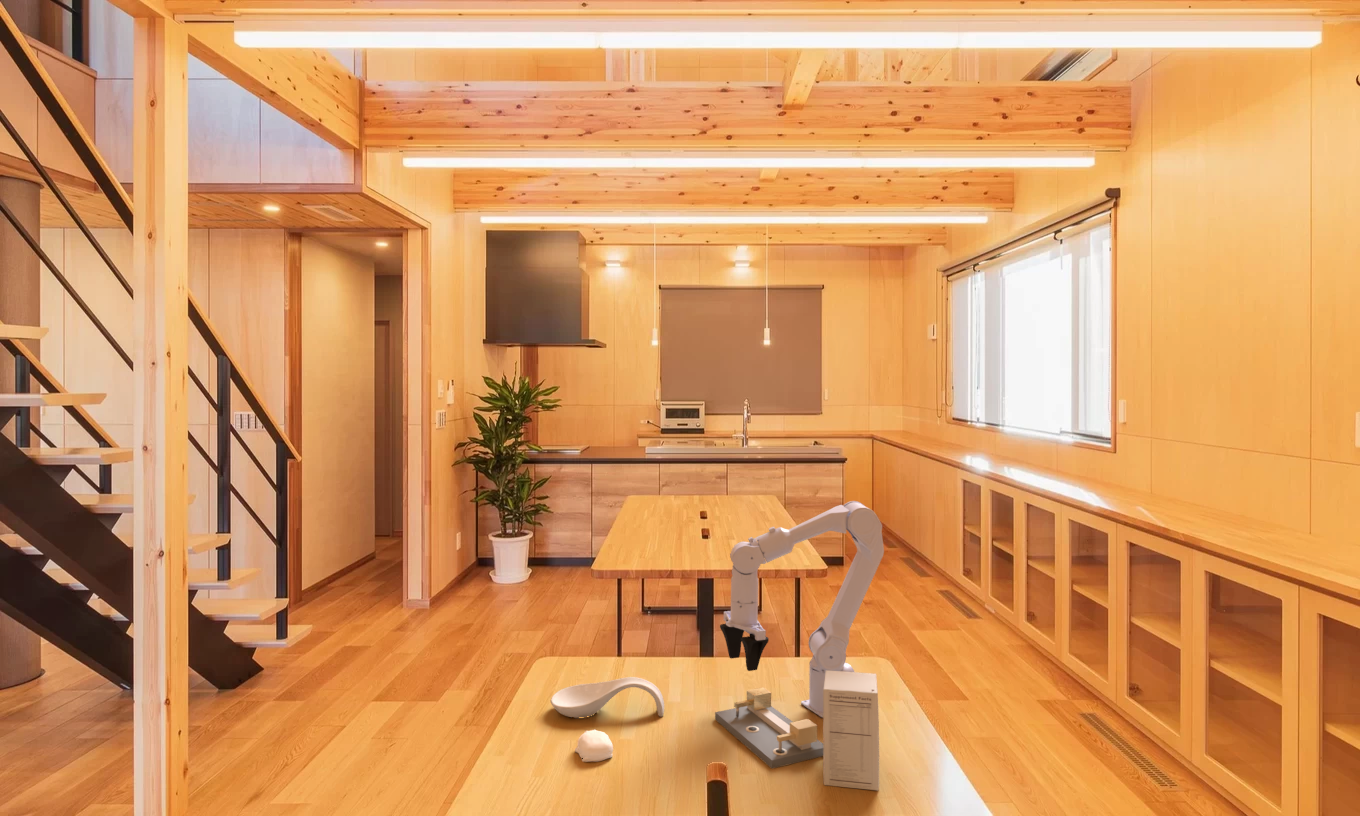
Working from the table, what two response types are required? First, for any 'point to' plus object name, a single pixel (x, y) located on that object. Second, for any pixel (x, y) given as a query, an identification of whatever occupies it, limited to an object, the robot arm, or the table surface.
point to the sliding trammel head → (755, 700)
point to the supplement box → (851, 730)
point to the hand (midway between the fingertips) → (743, 663)
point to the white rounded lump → (594, 746)
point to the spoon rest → (599, 696)
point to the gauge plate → (772, 735)
